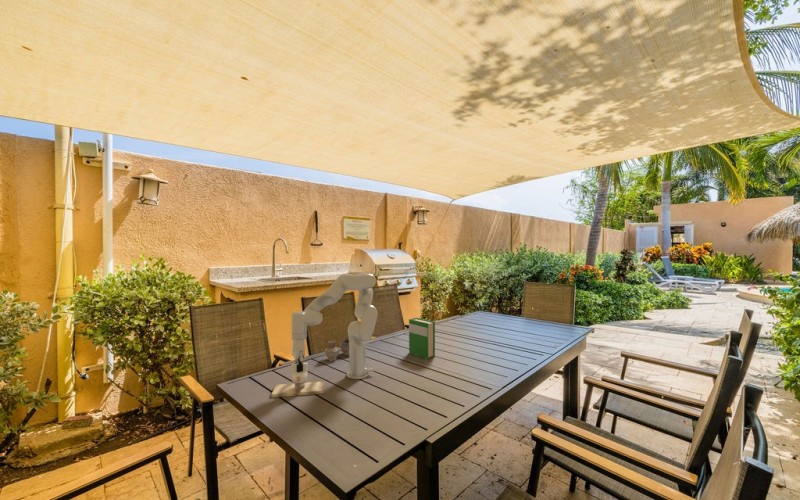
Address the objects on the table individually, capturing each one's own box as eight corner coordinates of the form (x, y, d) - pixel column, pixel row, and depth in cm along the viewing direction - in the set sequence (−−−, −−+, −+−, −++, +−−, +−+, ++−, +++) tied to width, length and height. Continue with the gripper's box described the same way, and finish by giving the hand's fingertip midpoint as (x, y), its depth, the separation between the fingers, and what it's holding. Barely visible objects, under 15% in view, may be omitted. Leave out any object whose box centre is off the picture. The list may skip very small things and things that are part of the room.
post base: (325, 383, 187) (325, 374, 186) (324, 393, 175) (324, 383, 175) (275, 387, 182) (275, 378, 182) (271, 397, 170) (271, 387, 170)
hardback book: (434, 356, 231) (434, 321, 231) (427, 359, 227) (427, 323, 226) (416, 350, 245) (416, 317, 244) (409, 353, 240) (409, 319, 239)
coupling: (292, 377, 181) (292, 361, 181) (308, 377, 183) (308, 360, 182) (290, 384, 172) (289, 367, 172) (306, 383, 173) (306, 367, 173)
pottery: (320, 360, 225) (320, 342, 225) (347, 350, 246) (347, 334, 246) (332, 363, 219) (332, 345, 219) (359, 353, 239) (359, 336, 239)
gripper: (288, 332, 183) (288, 366, 183) (294, 340, 169) (294, 377, 169) (303, 331, 187) (303, 364, 187) (310, 338, 172) (309, 374, 173)
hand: (299, 370), depth 178 cm, fingers closed on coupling, 3 cm apart
